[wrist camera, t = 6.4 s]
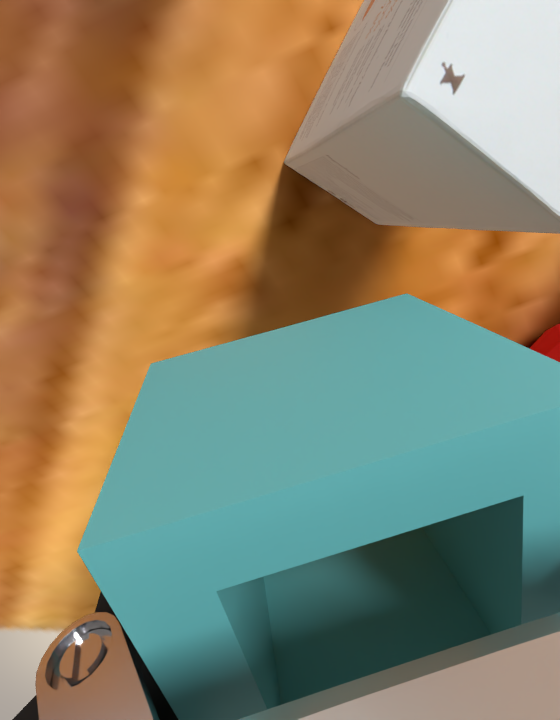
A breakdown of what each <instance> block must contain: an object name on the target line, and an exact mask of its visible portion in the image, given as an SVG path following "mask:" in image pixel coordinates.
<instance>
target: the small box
mask: <svg viewBox="0 0 560 720" xmlns="http://www.w3.org/2000/svg"><path fill="white" fill-rule="evenodd" d="M284 163H285V164H286V165H287V166H289V167H290V168H292V169H293V170H295V171H296V172H298V173H299V174H301V175H303V176H304V177H306V178H307V179H309V180H310V181H312V182H313V183H315V184H316V185H318V186H319V187H321V188H323V189H324V190H326V191H327V192H329V193H330V194H332V195H333V196H335V197H336V198H338V199H339V200H341V201H342V202H344V203H345V204H347V205H348V206H350V207H351V208H353V209H354V210H356V211H357V212H359V213H360V214H362V215H363V216H365V217H366V218H368V219H369V220H371V221H372V222H374V223H375V224H378V225H393V226H410V227H427V228H455V229H472V230H494V231H516V232H538V233H560V0H364V2H363V3H362V5H361V7H360V9H359V11H358V13H357V15H356V17H355V19H354V20H353V22H352V24H351V26H350V28H349V30H348V32H347V34H346V36H345V38H344V40H343V42H342V44H341V46H340V48H339V50H338V52H337V54H336V56H335V58H334V60H333V62H332V64H331V66H330V68H329V70H328V72H327V74H326V76H325V78H324V80H323V82H322V84H321V86H320V88H319V90H318V92H317V94H316V96H315V98H314V100H313V102H312V104H311V106H310V108H309V110H308V112H307V115H306V117H305V119H304V121H303V123H302V125H301V127H300V129H299V131H298V133H297V135H296V137H295V139H294V141H293V143H292V145H291V147H290V150H289V152H288V154H287V156H286V158H285V161H284Z"/></svg>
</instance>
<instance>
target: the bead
mask: <svg viewBox="0 0 560 720" xmlns="http://www.w3.org/2000/svg"><path fill="white" fill-rule="evenodd" d="M77 552H78V553H79V555H80V557H81V558H82V560H83V562H84V563H85V565H86V567H87V568H88V570H89V572H90V573H91V575H92V577H93V578H94V580H95V582H96V583H97V585H98V587H99V588H100V590H101V592H102V593H103V595H104V597H105V598H106V600H107V602H108V603H109V605H110V607H111V608H112V610H113V611H114V613H115V615H116V616H117V618H118V620H119V621H120V623H121V625H122V626H123V628H124V630H125V631H126V633H127V635H128V636H129V638H130V640H131V641H132V643H133V645H134V646H135V648H136V650H137V651H138V653H139V655H140V656H141V658H142V660H143V661H144V663H145V665H146V666H147V668H148V670H149V671H150V673H151V675H152V676H153V678H154V680H155V681H156V683H157V685H158V686H159V688H160V689H161V691H162V693H163V694H164V696H165V698H166V699H167V701H168V703H169V704H170V706H171V708H172V709H173V711H174V713H175V714H176V716H177V718H178V719H179V720H238V719H241V718H244V717H247V716H250V715H253V714H256V713H259V712H261V711H264V710H267V709H270V708H273V707H276V706H279V705H282V704H285V703H288V702H291V701H294V700H297V699H300V698H303V697H306V696H309V695H312V694H315V693H318V692H321V691H323V690H326V689H329V688H332V687H335V686H338V685H341V684H344V683H347V682H350V681H353V680H356V679H359V678H362V677H365V676H368V675H371V674H374V673H377V672H380V671H383V670H386V669H389V668H392V667H395V666H398V665H401V664H404V663H407V662H410V661H413V660H416V659H419V658H422V657H425V656H428V655H431V654H434V653H437V652H440V651H443V650H446V649H449V648H452V647H455V646H458V645H461V644H464V643H467V642H470V641H473V640H476V639H479V638H482V637H485V636H488V635H492V634H495V633H498V632H501V631H504V630H507V629H510V628H513V627H516V626H519V625H522V624H525V623H528V622H531V621H534V620H537V619H540V618H544V617H547V616H550V615H553V614H556V613H559V612H560V362H558V361H556V360H554V359H551V358H549V357H547V356H545V355H542V354H540V353H538V352H536V351H534V350H531V349H529V348H527V347H525V346H522V345H520V344H518V343H516V342H514V341H511V340H509V339H507V338H505V337H502V336H500V335H498V334H496V333H494V332H491V331H489V330H487V329H485V328H482V327H480V326H478V325H476V324H474V323H471V322H469V321H467V320H465V319H462V318H460V317H458V316H456V315H454V314H451V313H449V312H447V311H445V310H443V309H440V308H438V307H436V306H434V305H431V304H429V303H427V302H425V301H423V300H420V299H418V298H416V297H414V296H411V295H409V294H403V295H399V296H396V297H392V298H389V299H385V300H381V301H378V302H374V303H370V304H367V305H363V306H359V307H356V308H352V309H348V310H345V311H341V312H338V313H334V314H330V315H327V316H323V317H319V318H316V319H312V320H308V321H305V322H301V323H297V324H294V325H290V326H287V327H283V328H279V329H276V330H272V331H268V332H265V333H261V334H257V335H254V336H250V337H246V338H243V339H239V340H236V341H232V342H228V343H225V344H221V345H217V346H214V347H210V348H206V349H203V350H199V351H195V352H192V353H188V354H185V355H181V356H177V357H174V358H170V359H166V360H163V361H159V362H155V363H152V364H151V365H150V367H149V370H148V372H147V375H146V378H145V380H144V383H143V385H142V388H141V390H140V393H139V395H138V398H137V400H136V403H135V405H134V408H133V411H132V413H131V416H130V418H129V421H128V423H127V426H126V428H125V431H124V433H123V436H122V438H121V441H120V444H119V446H118V449H117V451H116V454H115V456H114V459H113V461H112V464H111V466H110V469H109V471H108V474H107V477H106V479H105V482H104V484H103V487H102V489H101V492H100V494H99V497H98V499H97V502H96V504H95V507H94V510H93V512H92V515H91V517H90V520H89V522H88V525H87V527H86V530H85V532H84V535H83V538H82V540H81V543H80V545H79V548H78V550H77Z"/></svg>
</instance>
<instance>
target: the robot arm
mask: <svg viewBox="0 0 560 720" xmlns="http://www.w3.org/2000/svg"><path fill="white" fill-rule="evenodd" d="M13 720H179V719H178V718H177V716H176V714H175V713H174V711H173V709H172V708H171V706H170V704H169V703H168V701H167V699H166V698H165V696H164V694H163V693H162V691H161V689H160V688H159V686H158V685H157V683H156V681H155V680H154V678H153V676H152V675H151V673H150V671H149V670H148V668H147V666H146V665H145V663H144V661H143V660H142V658H141V656H140V655H139V653H138V651H137V650H136V648H135V646H134V645H133V643H132V641H131V640H130V638H129V636H128V635H127V633H126V631H125V630H124V628H123V626H122V625H121V623H120V621H119V620H118V618H117V616H116V615H115V613H114V611H113V610H112V608H111V607H110V605H109V603H108V602H107V600H106V598H105V597H104V595H103V593H102V592H101V593H100V597H99V600H98V604H97V607H96V611H95V613H93V614H90V615H86V616H84V617H82V618H81V619H79V620H77V621H75V622H74V623H72V624H71V625H70V626H68V627H67V628H66V629H65V630H64V631H62V632H61V633H60V634H59V635H58V637H57V638H56V639H55V640H54V641H53V642H52V643H51V645H50V646H49V648H48V649H47V651H46V652H45V654H44V656H43V657H42V659H41V662H40V665H39V667H38V670H37V673H36V696H35V697H34V698H33V699H32V700H31V701H30V702H29V703H28V704H27V705H26V706H25V707H24V708H23V710H21V711H20V713H19V714H17V716H16V717H15V718H14V719H13ZM238 720H560V612H559V613H556V614H553V615H550V616H547V617H544V618H540V619H537V620H534V621H531V622H528V623H525V624H522V625H519V626H516V627H513V628H510V629H507V630H504V631H501V632H498V633H495V634H492V635H488V636H485V637H482V638H479V639H476V640H473V641H470V642H467V643H464V644H461V645H458V646H455V647H452V648H449V649H446V650H443V651H440V652H437V653H434V654H431V655H428V656H425V657H422V658H419V659H416V660H413V661H410V662H407V663H404V664H401V665H398V666H395V667H392V668H389V669H386V670H383V671H380V672H377V673H374V674H371V675H368V676H365V677H362V678H359V679H356V680H353V681H350V682H347V683H344V684H341V685H338V686H335V687H332V688H329V689H326V690H323V691H321V692H318V693H315V694H312V695H309V696H306V697H303V698H300V699H297V700H294V701H291V702H288V703H285V704H282V705H279V706H276V707H273V708H270V709H267V710H264V711H261V712H259V713H256V714H253V715H250V716H247V717H244V718H241V719H238Z"/></svg>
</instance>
